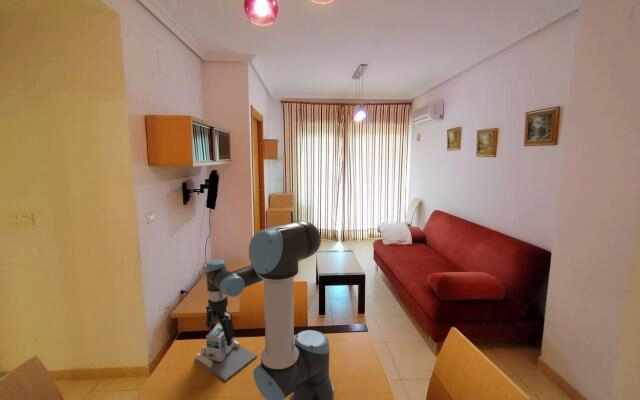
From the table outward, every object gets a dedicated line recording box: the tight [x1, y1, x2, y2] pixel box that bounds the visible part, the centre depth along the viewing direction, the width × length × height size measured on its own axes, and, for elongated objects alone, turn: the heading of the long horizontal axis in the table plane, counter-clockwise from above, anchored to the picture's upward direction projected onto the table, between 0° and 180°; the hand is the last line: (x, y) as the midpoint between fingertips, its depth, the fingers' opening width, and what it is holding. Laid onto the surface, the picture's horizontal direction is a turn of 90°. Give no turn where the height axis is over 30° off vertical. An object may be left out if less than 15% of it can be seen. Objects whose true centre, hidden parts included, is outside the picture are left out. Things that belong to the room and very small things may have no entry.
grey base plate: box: [193, 339, 258, 382], centre depth 124 cm, size 20×16×5 cm
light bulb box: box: [205, 322, 235, 362], centre depth 124 cm, size 11×7×11 cm, turn 168°
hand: (221, 347), depth 125 cm, fingers closed on light bulb box, 8 cm apart
